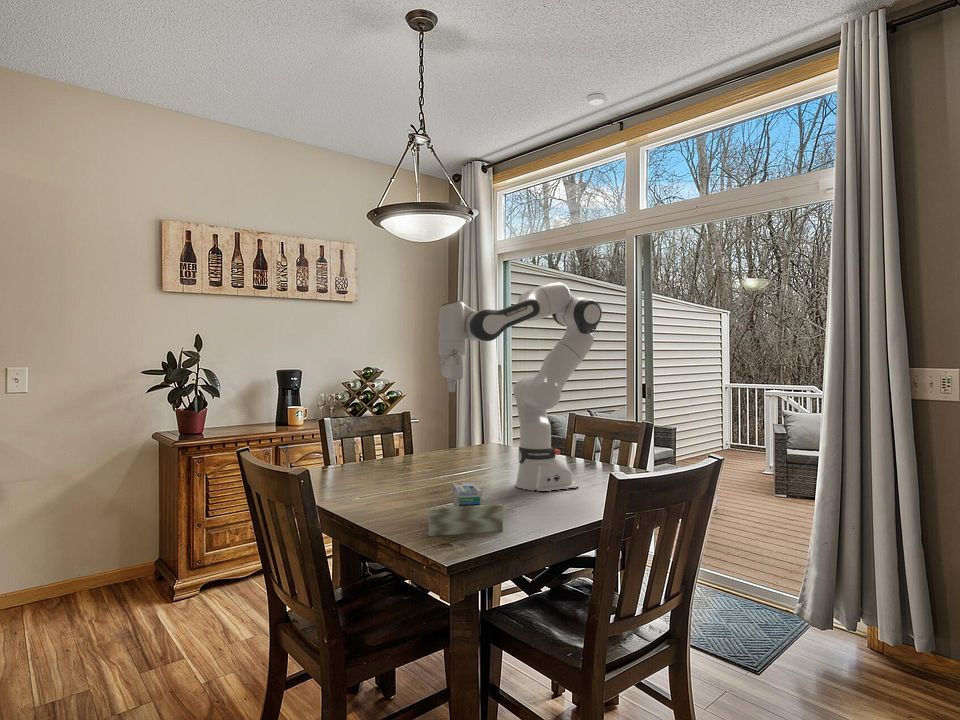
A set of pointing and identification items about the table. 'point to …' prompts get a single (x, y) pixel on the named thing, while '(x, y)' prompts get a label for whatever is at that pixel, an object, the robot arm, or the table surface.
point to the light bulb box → (466, 494)
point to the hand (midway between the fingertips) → (451, 391)
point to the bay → (465, 519)
